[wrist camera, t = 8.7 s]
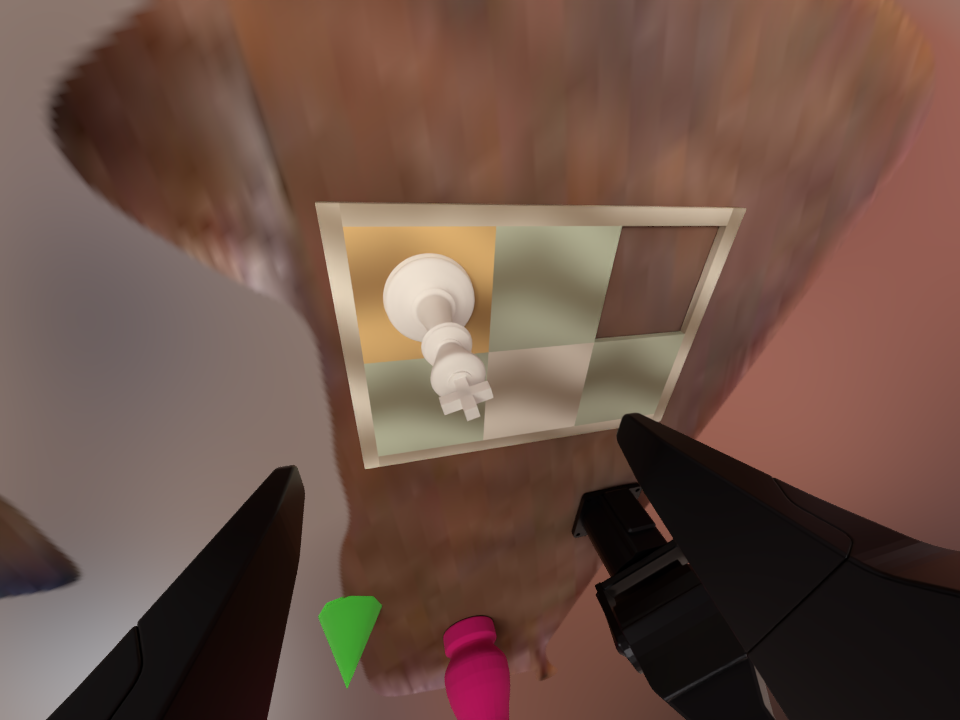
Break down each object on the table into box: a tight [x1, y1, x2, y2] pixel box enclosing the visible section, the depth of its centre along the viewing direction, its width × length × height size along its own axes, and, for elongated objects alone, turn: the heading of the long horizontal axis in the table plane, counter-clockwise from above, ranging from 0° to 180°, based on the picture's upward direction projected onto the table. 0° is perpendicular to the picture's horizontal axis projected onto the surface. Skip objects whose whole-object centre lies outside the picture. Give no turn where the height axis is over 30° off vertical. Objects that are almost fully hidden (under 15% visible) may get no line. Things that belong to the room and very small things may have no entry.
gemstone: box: [318, 596, 382, 688], centre depth 31 cm, size 6×6×6 cm
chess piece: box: [383, 253, 493, 421], centre depth 15 cm, size 5×5×10 cm
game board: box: [315, 202, 746, 469], centre depth 23 cm, size 17×24×1 cm
